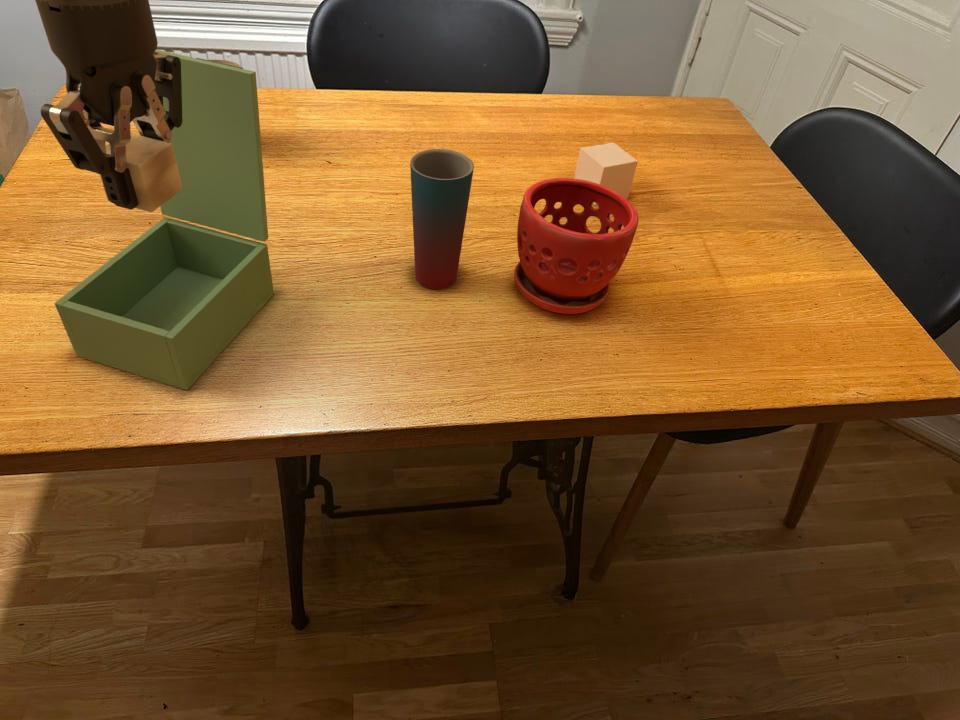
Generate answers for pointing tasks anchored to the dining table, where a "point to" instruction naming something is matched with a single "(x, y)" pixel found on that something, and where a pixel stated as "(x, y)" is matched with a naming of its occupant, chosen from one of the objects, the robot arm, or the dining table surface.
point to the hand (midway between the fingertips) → (145, 191)
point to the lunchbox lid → (219, 150)
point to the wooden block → (151, 171)
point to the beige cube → (607, 167)
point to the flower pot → (571, 244)
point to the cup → (439, 214)
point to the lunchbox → (168, 302)
